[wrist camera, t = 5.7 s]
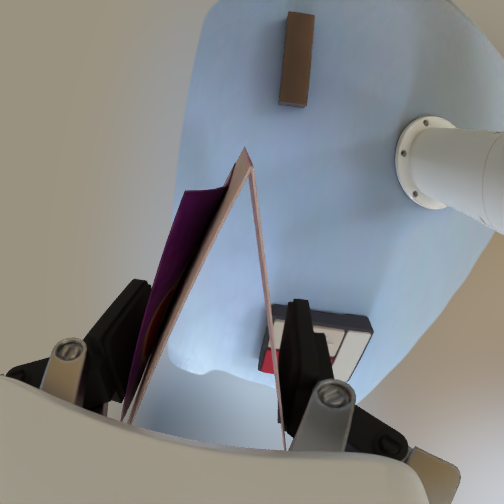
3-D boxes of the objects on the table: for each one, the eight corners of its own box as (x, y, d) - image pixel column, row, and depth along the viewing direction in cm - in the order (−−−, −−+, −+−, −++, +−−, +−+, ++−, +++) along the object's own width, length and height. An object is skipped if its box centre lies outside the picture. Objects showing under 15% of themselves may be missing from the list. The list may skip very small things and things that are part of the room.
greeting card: (232, 141, 18) (197, 139, 4) (328, 192, 19) (480, 310, 5) (167, 280, 21) (94, 455, 7) (252, 317, 23) (263, 498, 9)
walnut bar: (311, 22, 25) (314, 15, 23) (303, 108, 30) (306, 105, 28) (287, 18, 25) (288, 11, 23) (278, 104, 30) (279, 101, 28)
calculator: (271, 318, 36) (376, 333, 36) (272, 300, 40) (369, 316, 40) (256, 374, 41) (348, 385, 40) (259, 356, 45) (345, 367, 44)
